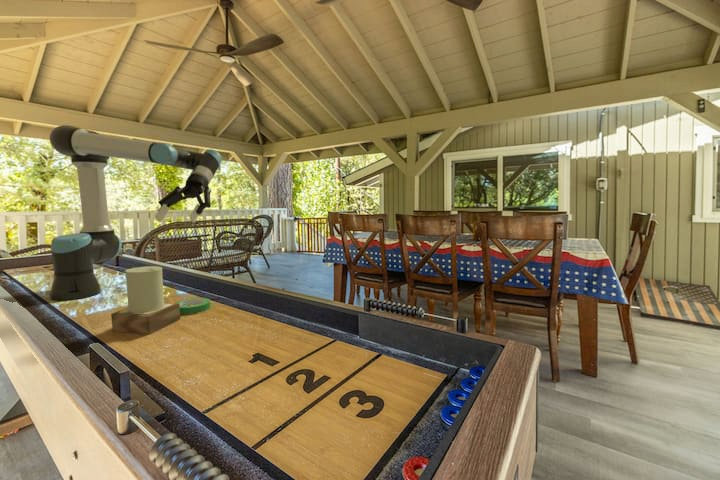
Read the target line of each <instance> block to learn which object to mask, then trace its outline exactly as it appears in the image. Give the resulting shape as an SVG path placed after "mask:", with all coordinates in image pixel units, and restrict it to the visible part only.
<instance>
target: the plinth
mask: <svg viewBox="0 0 720 480" xmlns="http://www.w3.org/2000/svg"><path fill="white" fill-rule="evenodd" d="M164 304H165V306H164V307H163V308H160V309H158V310H154V311H149V312H141V313H133V312H129V311H128V307H127V308H123V309H121V310H118V311H115V312H113V313H111V314H110V315H111V328H112V329H111V330H112V332H116V333H117V332H118V333H130V334H131V333H133V334H142V335H143V334H144V335H151V334H154V333H155V332H158V331H160V330H162V329H163V328H166V327H168V326H170V325H172V324H173V323H174V324H175V323H176V322H178V321H180V320H181V314H180V305H179V304H177V303H176V302H174V303H173V302H164Z"/></svg>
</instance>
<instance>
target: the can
mask: <svg viewBox="0 0 720 480" xmlns="http://www.w3.org/2000/svg"><path fill="white" fill-rule="evenodd" d="M124 272H125V280H126V281H125V282H126V293H127V294H126V296H127V308H128V311H129V312H133V313H141V312H149V311H154V310H158V309H160V308H163V307H164V306H165V304H164V303H165V299H164V284H163V283H164V281H163V280H164V279H163V278H164V277H163V266H159V265H157V266H153V265H152V266H150V265H148V266H137V267H132V268H128V269H125V271H124Z"/></svg>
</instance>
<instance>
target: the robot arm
mask: <svg viewBox="0 0 720 480" xmlns="http://www.w3.org/2000/svg"><path fill="white" fill-rule="evenodd" d="M49 143H50V145H51V146H52V148H53V149H54V150H55V151H56V152H57V153H59V154H61V155H64V156H66V157H69V158H70V160H71V164H72V165H73V166H74V167H76V171H77V180H78V187H79V195H80V204H81V215H82V223H83V224H82V225H83V227H82V228H81V229H80V230H79V232H77V233H75V232H74V233H69V234H67V233H66V234H63V235H58V236H56V237H53V238H52V239H51V243H50V244H51V245H50V251H51V258H52V266H53V276H54V278H53V282H52V283H51V289H50V291H49V298H50V300H52V299H54V300H53V301H68V300H67V299H71V300H78V299H84V298H89V297H93V296H95V295H98V294H101V293H102V288H101V287H102V286H101V285H100V284H99V281H98V279H97V277H96V275H95V271H94V265H95V264H99V263H103V262H107V261H111V260H114V259H115V258H117V257H118V256H119V254H121V251H122V250H123V249H122V247H123V245H122V244H123V243H122V240H121V238H120V237H119V236H118V235H116V233H115V229H114V228H113V227H112V226H111V225H110V219H109V209H108V199H107V190H106V179H105V171H104V170H105V168H106V167H107V166H108V165H109V164H108V160H109V159H110V158H116V159H124V160H130V161H138V162H143V163H150V164H151V163H152V164H156V165H157V164H158V165H164V166H170V167H171V166H172V167H175V168H181V169H184V170H191V172H190V173H189V176H188V177H187V179H186V180H185V186H183V187H180V185H177V186H175V188H174V189H173V190H171V191H170V192H169V193H168V194H167V195H165V196H163V197H162V199H160V200H158V204H159V205H160V207H159V209H158V210H157V213H156V215H154V218H155V219H156V220H157V221H158V222H159V223H162V222H163V220H164V219H165V217H166V215H167V214H168V212H169V211H170V207H173V206H174V205H175V204H177V203H179V202H181V201H182V200H183V201H184V200H187V199H195V198H196V200H197V202H198V203H197V204H196V205H195V207H194V208H193V210H192V212H191V214H190V215H189V219H190V221H191V222H192V224H193V223H196V222H197V219H198V218H199V216H200V215H202V213H203V212H204V210H205V209H206V208H211V207H212V203H211V193H212V190H211V187H209V185H210V183H211V181H213V178H214V175H216V173H217V171H218V170H219V169H220V166H221V164H222V161H223V158H222V156H221V154H220V153H219V152H218V151H216V150H214V149H211V148H210V149H206V150H204V152H203V153H202V152H196V151H191V150H187V149H184V148H180V147H179V146H178V147H177V146H174V145H171V144H170V143H166V142H153V141H147V140H146V141H145V140H139V139H132V138H127V137H119V136H118V137H117V136H113V135H112V136H111V135H105V134H101V133H99V132H96V131H93V130H88V129H84V128H80V127H77V126H74V125H68V124H67V125H66V124H65V125H64V124H63V125H58V126H57V127H54V129H52V131H51V132H50V134H49ZM202 194H203V197H204V201H203V199H202V196H201V195H202Z"/></svg>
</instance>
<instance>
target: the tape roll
mask: <svg viewBox="0 0 720 480" xmlns="http://www.w3.org/2000/svg"><path fill="white" fill-rule="evenodd" d="M175 303H177V304H179V305H180V315H191V314H190V313H195V314H198V313H197V312H200V313H203V312H206V311H208V310H210V309H211V299H209V298H207V297H190V298H185V299H181V300H179V301H176V302H175ZM191 305H193V306H191ZM209 308H210V309H209ZM207 309H208V310H207ZM205 310H206V311H205ZM202 311H203V312H202Z"/></svg>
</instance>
